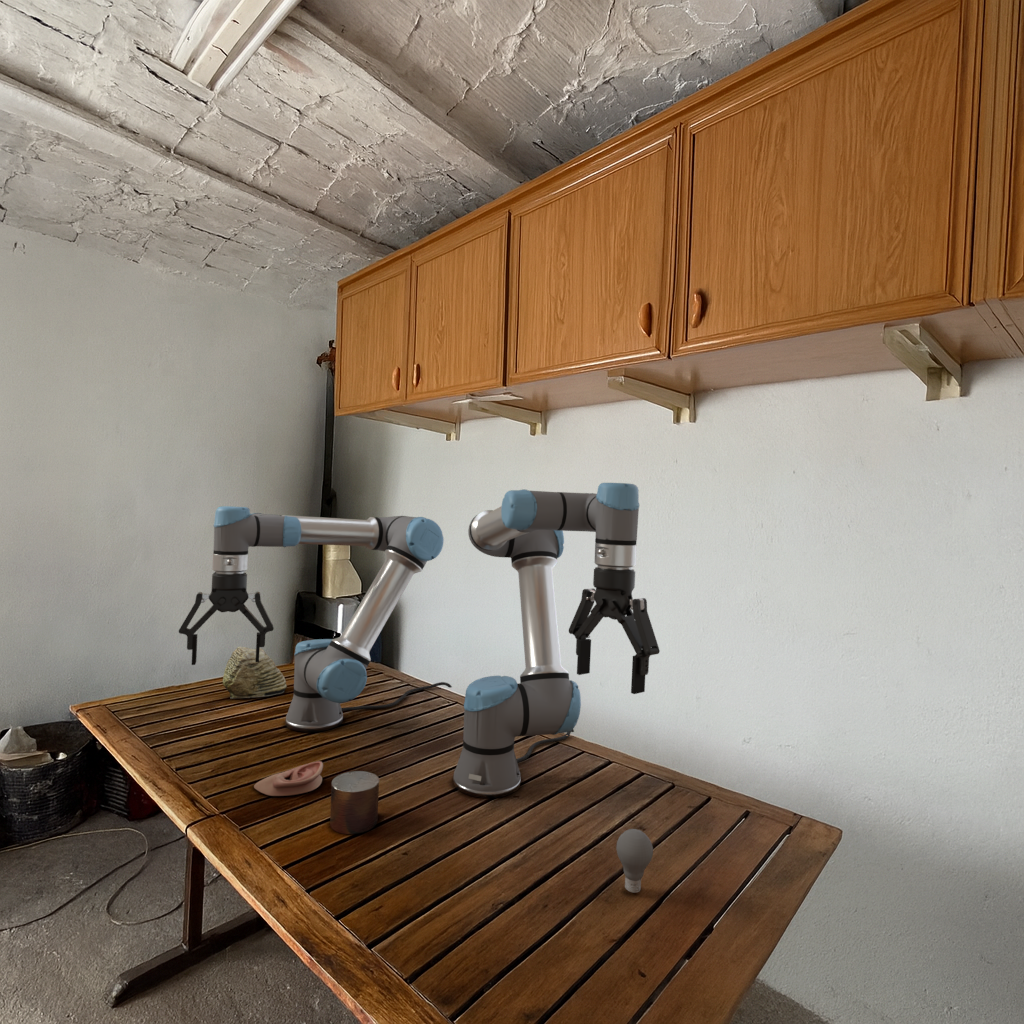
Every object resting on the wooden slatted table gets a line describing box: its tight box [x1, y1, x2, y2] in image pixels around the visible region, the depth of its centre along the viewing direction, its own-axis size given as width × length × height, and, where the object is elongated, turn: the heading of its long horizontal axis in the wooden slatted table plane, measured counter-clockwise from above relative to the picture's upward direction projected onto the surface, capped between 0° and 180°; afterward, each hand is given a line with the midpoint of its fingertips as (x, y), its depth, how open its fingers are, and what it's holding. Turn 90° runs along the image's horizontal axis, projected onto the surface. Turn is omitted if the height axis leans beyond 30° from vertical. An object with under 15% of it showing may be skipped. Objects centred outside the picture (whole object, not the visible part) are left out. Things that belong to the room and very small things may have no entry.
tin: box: [329, 770, 380, 835], centre depth 124 cm, size 9×9×8 cm
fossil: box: [222, 646, 288, 699], centre depth 198 cm, size 9×18×15 cm, turn 132°
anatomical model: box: [253, 760, 324, 797], centre depth 138 cm, size 13×4×12 cm
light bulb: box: [615, 828, 654, 894], centre depth 106 cm, size 6×6×10 cm
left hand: (226, 662), depth 149 cm, fingers open, 13 cm apart
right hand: (609, 682), depth 116 cm, fingers open, 13 cm apart
